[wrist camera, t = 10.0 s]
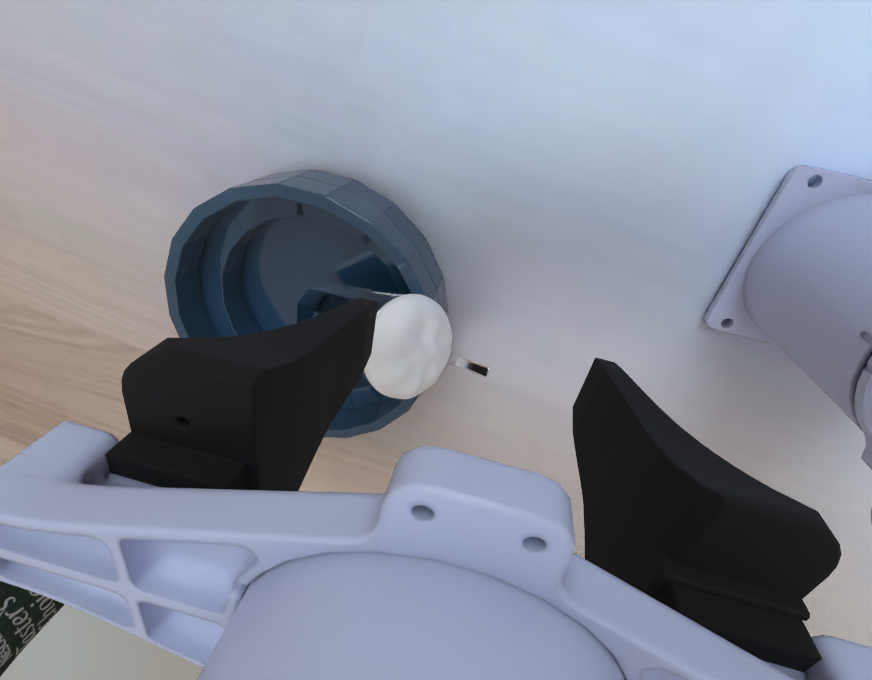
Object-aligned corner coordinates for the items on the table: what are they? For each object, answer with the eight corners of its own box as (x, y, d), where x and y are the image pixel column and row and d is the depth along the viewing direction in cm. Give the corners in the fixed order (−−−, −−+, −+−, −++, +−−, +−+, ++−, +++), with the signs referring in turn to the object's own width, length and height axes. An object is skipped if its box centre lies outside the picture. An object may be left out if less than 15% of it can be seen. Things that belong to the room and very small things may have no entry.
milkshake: (355, 360, 27) (471, 421, 19) (271, 341, 23) (376, 407, 16) (379, 289, 27) (504, 324, 19) (299, 258, 23) (417, 287, 16)
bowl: (473, 204, 22) (462, 229, 18) (424, 415, 29) (408, 464, 26) (209, 140, 23) (145, 151, 19) (225, 361, 30) (181, 401, 26)
